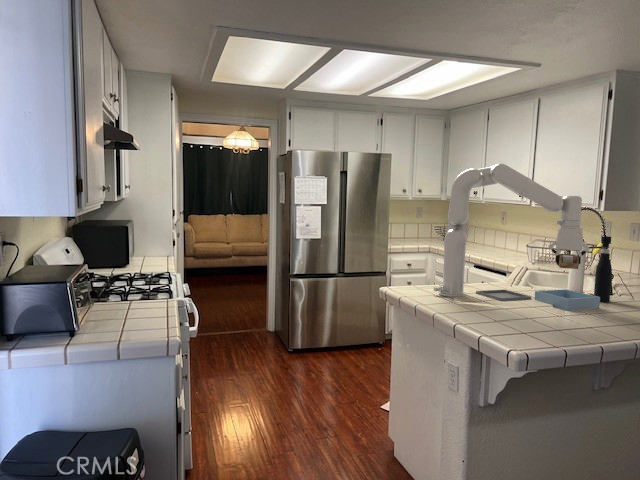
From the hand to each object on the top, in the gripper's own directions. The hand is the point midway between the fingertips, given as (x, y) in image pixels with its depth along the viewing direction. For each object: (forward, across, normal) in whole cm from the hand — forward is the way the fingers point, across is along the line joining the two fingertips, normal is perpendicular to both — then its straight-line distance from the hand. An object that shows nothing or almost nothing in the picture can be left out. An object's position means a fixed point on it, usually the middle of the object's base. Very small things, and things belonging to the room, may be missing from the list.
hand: (567, 264), depth 211 cm
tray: (+18, -26, +2) cm, 31 cm away
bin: (+18, 0, 0) cm, 18 cm away
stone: (0, 0, +1) cm, 1 cm away
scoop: (+1, 0, 0) cm, 1 cm away
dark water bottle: (+18, +17, +19) cm, 31 cm away
